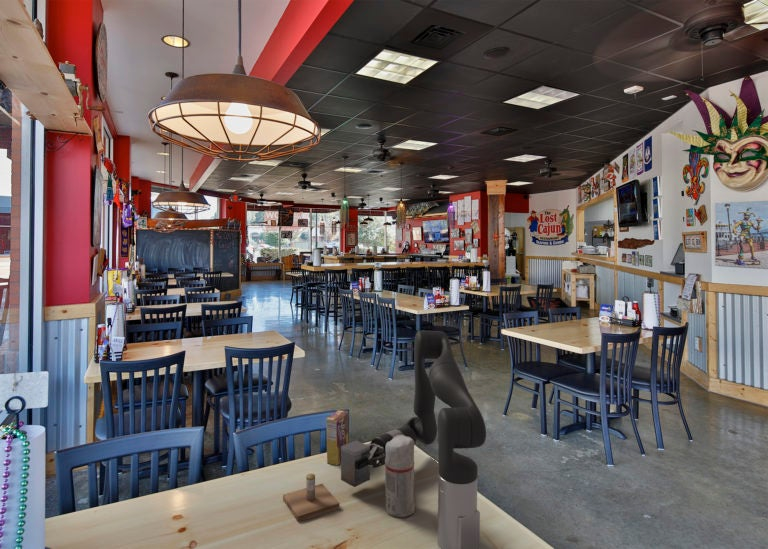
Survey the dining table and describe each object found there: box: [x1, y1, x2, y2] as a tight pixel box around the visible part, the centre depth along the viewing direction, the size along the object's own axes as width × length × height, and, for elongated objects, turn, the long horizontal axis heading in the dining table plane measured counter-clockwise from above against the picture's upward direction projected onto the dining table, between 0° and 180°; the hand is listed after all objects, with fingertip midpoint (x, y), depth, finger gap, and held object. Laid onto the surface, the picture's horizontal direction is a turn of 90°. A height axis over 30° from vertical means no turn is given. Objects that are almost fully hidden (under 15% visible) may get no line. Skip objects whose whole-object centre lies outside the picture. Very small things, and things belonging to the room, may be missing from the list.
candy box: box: [325, 410, 349, 466], centre depth 150 cm, size 9×4×15 cm, turn 160°
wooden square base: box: [282, 473, 341, 523], centre depth 122 cm, size 12×12×8 cm
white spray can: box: [384, 435, 416, 518], centre depth 120 cm, size 8×8×20 cm
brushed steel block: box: [340, 440, 371, 488], centre depth 129 cm, size 6×6×10 cm
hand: (349, 462), depth 127 cm, fingers closed on brushed steel block, 6 cm apart
